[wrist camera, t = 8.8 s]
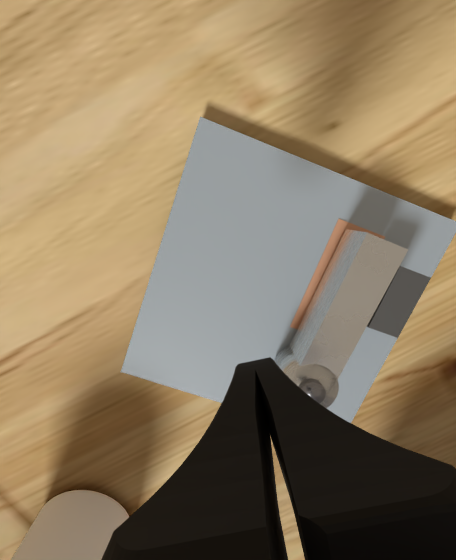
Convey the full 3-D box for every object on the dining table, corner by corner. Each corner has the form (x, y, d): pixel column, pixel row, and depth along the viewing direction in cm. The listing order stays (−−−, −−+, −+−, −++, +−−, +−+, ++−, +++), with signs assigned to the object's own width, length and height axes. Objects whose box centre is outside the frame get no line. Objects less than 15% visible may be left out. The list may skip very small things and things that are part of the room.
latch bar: (310, 393, 21) (326, 426, 18) (266, 378, 21) (274, 409, 18) (387, 246, 18) (422, 254, 15) (338, 226, 18) (363, 229, 15)
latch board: (448, 222, 19) (505, 225, 16) (336, 430, 23) (359, 474, 20) (201, 121, 18) (195, 97, 14) (125, 364, 22) (104, 398, 18)
